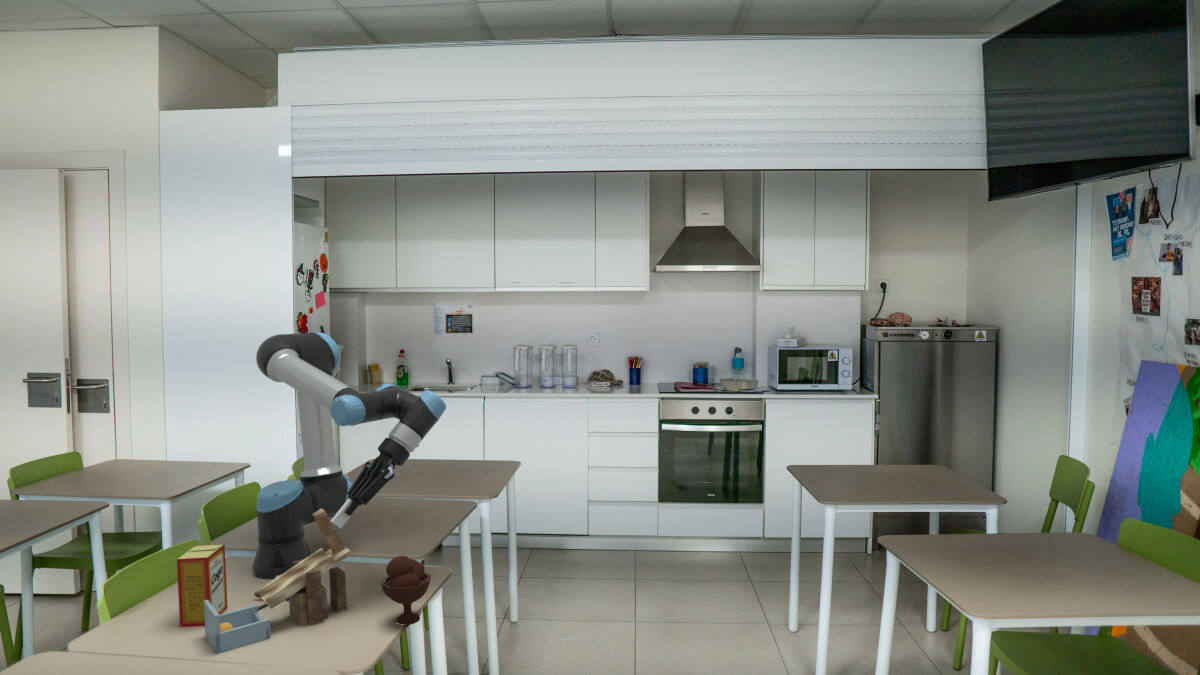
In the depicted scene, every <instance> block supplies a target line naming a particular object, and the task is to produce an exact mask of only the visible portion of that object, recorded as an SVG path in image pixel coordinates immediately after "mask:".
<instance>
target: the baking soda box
mask: <svg viewBox="0 0 1200 675" xmlns="http://www.w3.org/2000/svg"><path fill="white" fill-rule="evenodd" d="M225 546H226V545H225V543H223V544H222V543H219V544H218V543H217V544H216V543H215V544H199V545H198V544H197V545H195V546H194V547H193V546H192V548H190V549H189V550H188V551H186V552H185V553H184V554H182V555H180V557H178V558H177V559H176V568H177V569H176V570H177V572H176V573H177V589H178V590H177V593H178V613H179V627H180V628H187V627H205V626H204V625H205V617H204V601H205V600H208V601H209V602H210V603H211V605H212V606H213V607H214V609H215V610H216V611H217V613H218V614H219V615H220V614H224V612H225V611H226V610H227V609H228V590H227V589H228V588H227V587H228V586H227V571H226V570H227V568H226V566H227V565H226V564H227V563H226V548H225Z"/></svg>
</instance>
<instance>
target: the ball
mask: <svg viewBox="0 0 1200 675" xmlns="http://www.w3.org/2000/svg"><path fill="white" fill-rule="evenodd" d="M230 629H233V626H232V625H231V624H230V623H222V624H220V632H223V631H226V630H230Z"/></svg>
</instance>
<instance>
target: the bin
mask: <svg viewBox="0 0 1200 675" xmlns="http://www.w3.org/2000/svg"><path fill="white" fill-rule="evenodd" d="M257 607H258V605H257V604H254V605H251V606H248V607H244V608H243V607H242V608H240V609H235V610H232V611H229V612H225V613H224V612H223V613H222V614H220V615H219V614H218V613H217V611H216V610H215V609H214V607H213V606H212V605H211V603H210V602H209V601H208V600H205V601H204V617H205V626H204V633H205V636H206V637H205V638H206V640H207V639H208V640H207V641H208V643H209V644H210V645H211V647H212V649H213V650H214V652H215V654H221V653H223V652H224V653H225V652H228V651H230V650H234V649H237V648H240V647H244V646H247V645H250V644H254V643H258V642H261V641H265V640H267V639H271V619H270V618H267V619H266V618H265V619H263V618H262V617H261V616H260V615H259V611H257ZM222 623H230V624H231V625H232V626H233V629H230V630H226V631H223V632H220V624H222Z"/></svg>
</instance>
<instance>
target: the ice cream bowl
mask: <svg viewBox="0 0 1200 675" xmlns="http://www.w3.org/2000/svg"><path fill="white" fill-rule="evenodd" d="M385 571H386V574H387V576H385V577H384V578H383V579H382V581H381V583H380V585H381V589H382V591H383V593H384V595H385V596H386V597H388V598H389V599H390V600H391V601H392V602H394V603H397V604H399V605H402V606H403V612H402V613H400V614H399V615H398V616H396V619H395V622H397V623H399V624H404V625H403V626H409V625H415V624H416V623H418V622H419V621H420V620H421V616H420V614H418V613H416V612H413V610H412V605H413V603H414V602H416V601H419V600H420V599H421V598H423V596H424V595H425V594H426V593H427V591H428V588H429V586H430V583H431V577H432V574H430V573H428V572H426V571H425V566H424V565H423V564H422V563H421V562H419V561H418V560H416V559H413V558H410V557H409V556H406V555H398V556H396V557H393V558H392V559H391V560H390V561H389V562H388V563H387V566H386V568H385ZM397 623H396V624H397ZM405 624H406V625H405Z"/></svg>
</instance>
